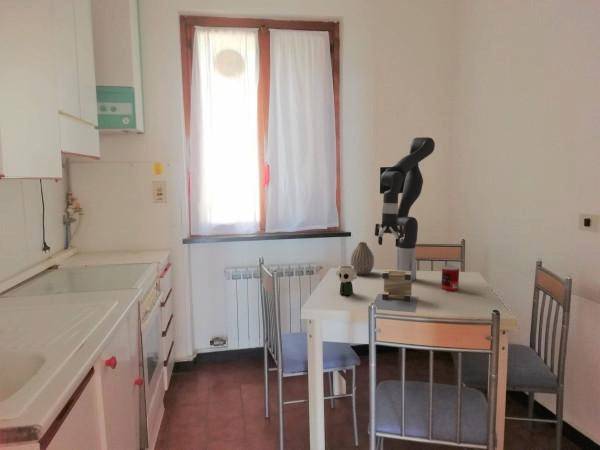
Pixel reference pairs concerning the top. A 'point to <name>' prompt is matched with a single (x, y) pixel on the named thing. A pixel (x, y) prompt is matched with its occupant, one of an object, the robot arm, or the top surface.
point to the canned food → (450, 278)
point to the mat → (396, 304)
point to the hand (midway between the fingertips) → (388, 245)
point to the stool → (397, 284)
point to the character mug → (346, 279)
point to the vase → (362, 259)
